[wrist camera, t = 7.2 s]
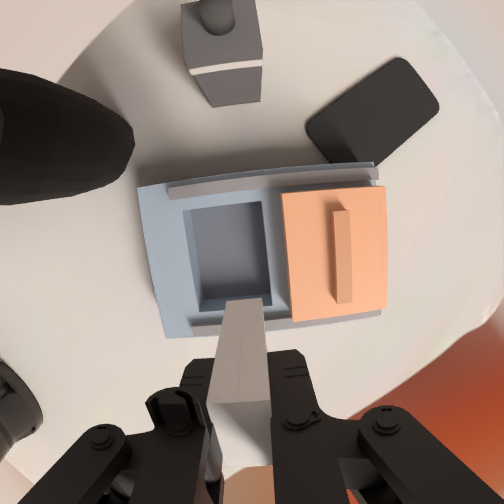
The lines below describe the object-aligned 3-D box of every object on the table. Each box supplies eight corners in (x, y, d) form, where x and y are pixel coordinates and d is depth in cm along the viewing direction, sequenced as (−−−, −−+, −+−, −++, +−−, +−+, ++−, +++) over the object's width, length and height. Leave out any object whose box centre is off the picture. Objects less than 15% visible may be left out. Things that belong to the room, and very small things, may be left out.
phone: (443, 108, 25) (351, 188, 27) (439, 110, 26) (348, 188, 28) (402, 54, 24) (301, 126, 26) (398, 56, 24) (300, 128, 27)
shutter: (289, 309, 26) (294, 327, 22) (279, 192, 24) (283, 194, 20) (375, 297, 26) (390, 313, 22) (373, 185, 23) (390, 186, 20)
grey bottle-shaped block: (212, 108, 26) (172, 45, 12) (208, 66, 25) (170, -16, 11) (260, 102, 26) (264, 31, 12) (255, 60, 25) (254, -29, 11)
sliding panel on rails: (175, 320, 31) (163, 342, 26) (152, 186, 28) (133, 188, 23) (364, 300, 30) (380, 319, 25) (358, 164, 27) (377, 161, 22)
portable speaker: (87, 100, 25) (-50, 51, 6) (157, 126, 26) (19, 61, 7) (58, 172, 27) (-88, 183, 8) (122, 205, 28) (-32, 245, 9)
